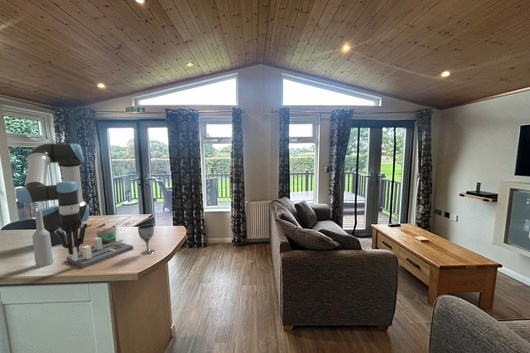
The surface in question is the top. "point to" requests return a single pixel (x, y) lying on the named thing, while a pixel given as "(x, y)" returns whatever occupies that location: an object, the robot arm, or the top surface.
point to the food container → (107, 235)
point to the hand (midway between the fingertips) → (74, 259)
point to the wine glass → (146, 236)
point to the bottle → (42, 243)
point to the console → (102, 253)
